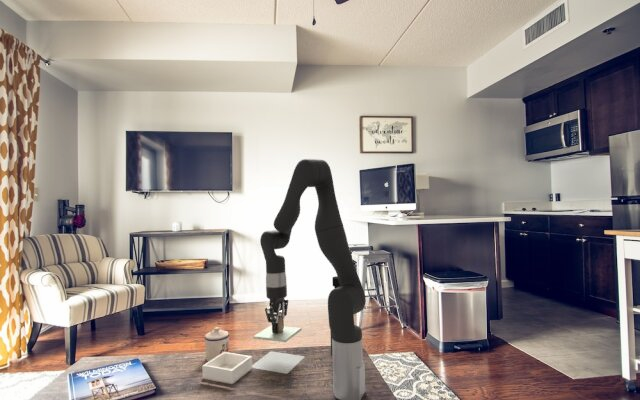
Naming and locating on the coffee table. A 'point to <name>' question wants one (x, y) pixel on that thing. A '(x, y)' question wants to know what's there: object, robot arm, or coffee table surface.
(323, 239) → the robot arm
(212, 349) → the teacup with lid
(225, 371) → the dish
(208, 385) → the coffee table surface
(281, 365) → the mat
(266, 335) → the lid
